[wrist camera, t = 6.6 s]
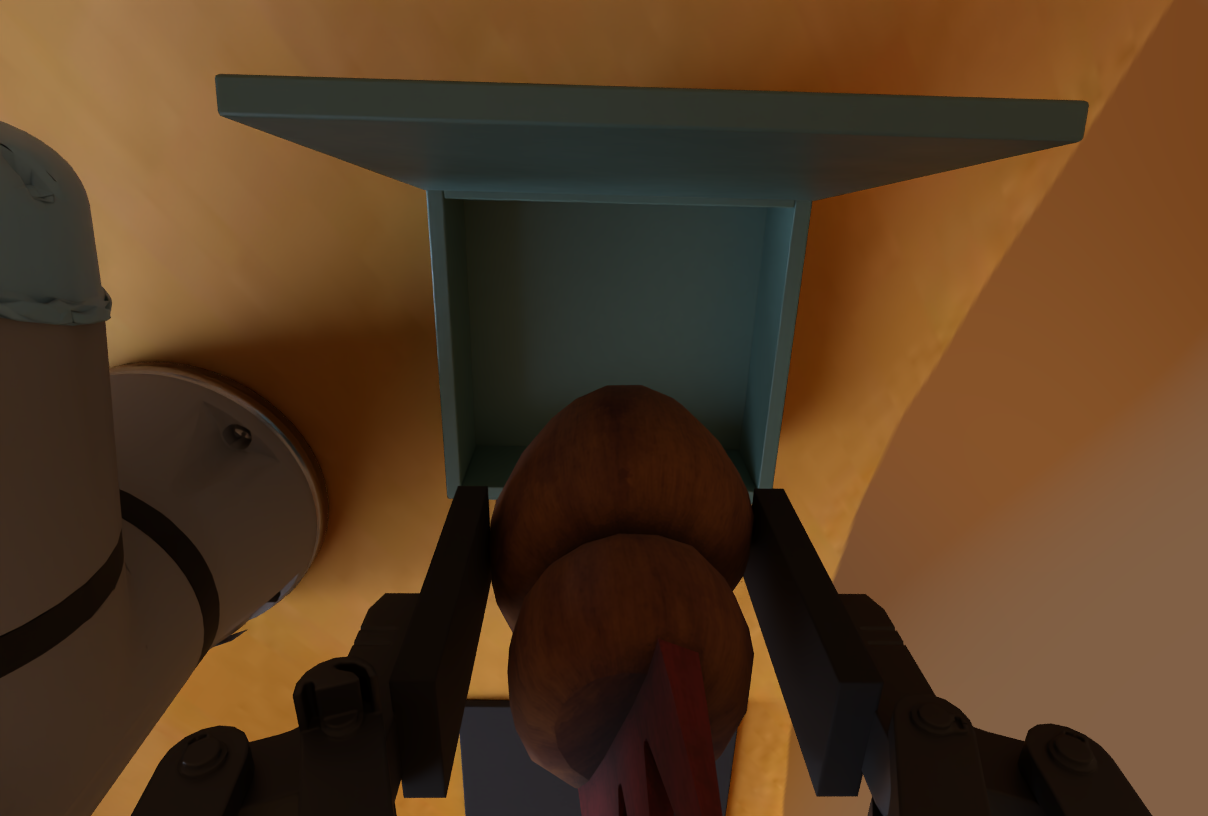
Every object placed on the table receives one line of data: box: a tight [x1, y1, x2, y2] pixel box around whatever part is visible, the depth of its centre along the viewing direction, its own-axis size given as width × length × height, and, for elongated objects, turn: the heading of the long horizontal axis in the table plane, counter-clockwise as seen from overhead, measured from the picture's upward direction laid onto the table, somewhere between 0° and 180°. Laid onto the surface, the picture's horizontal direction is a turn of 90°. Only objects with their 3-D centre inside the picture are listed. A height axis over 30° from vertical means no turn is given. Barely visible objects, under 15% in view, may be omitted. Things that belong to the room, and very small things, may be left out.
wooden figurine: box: [489, 385, 754, 816], centre depth 15 cm, size 7×6×15 cm
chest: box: [426, 190, 812, 504], centre depth 33 cm, size 14×15×5 cm
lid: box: [215, 74, 1089, 201], centre depth 20 cm, size 15×15×1 cm
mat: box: [460, 700, 737, 816], centre depth 48 cm, size 18×18×1 cm
